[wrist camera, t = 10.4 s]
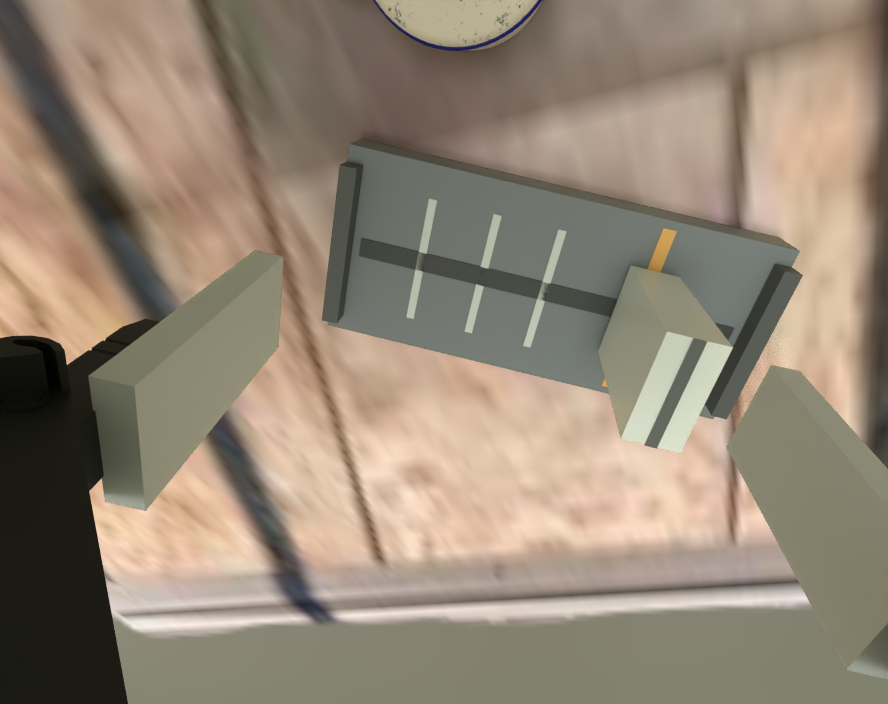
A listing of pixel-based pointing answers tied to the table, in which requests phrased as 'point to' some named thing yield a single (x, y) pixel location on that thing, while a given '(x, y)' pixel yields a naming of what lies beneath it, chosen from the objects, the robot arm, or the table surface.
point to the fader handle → (660, 359)
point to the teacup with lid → (459, 21)
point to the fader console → (531, 267)
